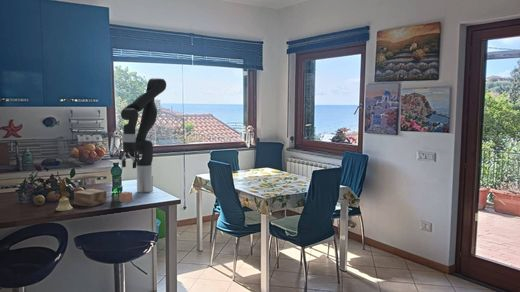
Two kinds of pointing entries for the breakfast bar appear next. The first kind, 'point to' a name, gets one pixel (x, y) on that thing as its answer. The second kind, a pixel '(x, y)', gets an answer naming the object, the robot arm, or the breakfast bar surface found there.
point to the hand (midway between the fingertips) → (129, 167)
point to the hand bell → (63, 199)
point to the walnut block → (90, 197)
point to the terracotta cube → (125, 196)
